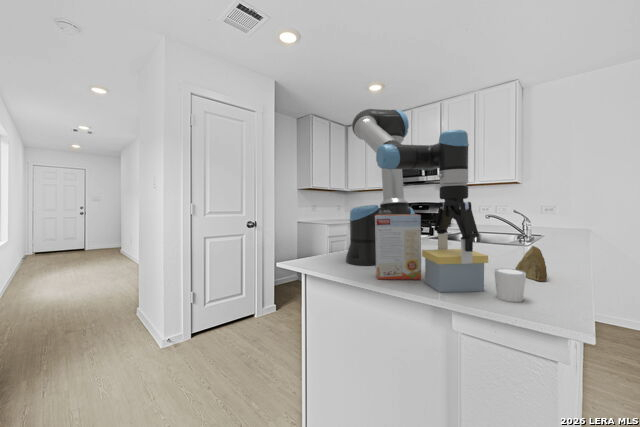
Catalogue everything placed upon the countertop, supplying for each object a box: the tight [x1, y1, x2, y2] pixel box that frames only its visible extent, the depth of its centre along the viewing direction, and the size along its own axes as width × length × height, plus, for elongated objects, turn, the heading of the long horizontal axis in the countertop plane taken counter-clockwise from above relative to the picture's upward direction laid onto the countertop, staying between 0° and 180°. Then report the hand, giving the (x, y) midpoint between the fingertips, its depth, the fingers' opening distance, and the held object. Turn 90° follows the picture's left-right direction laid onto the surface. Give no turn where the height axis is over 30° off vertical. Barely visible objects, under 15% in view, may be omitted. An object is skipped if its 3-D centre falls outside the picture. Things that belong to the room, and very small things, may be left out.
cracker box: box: [375, 213, 422, 281], centre depth 94 cm, size 14×6×21 cm, turn 84°
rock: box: [514, 245, 548, 282], centre depth 92 cm, size 11×9×10 cm
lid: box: [421, 248, 489, 264], centre depth 84 cm, size 11×14×3 cm
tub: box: [424, 257, 485, 293], centre depth 84 cm, size 10×13×8 cm
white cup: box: [493, 268, 527, 303], centre depth 74 cm, size 7×7×7 cm
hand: (453, 258), depth 83 cm, fingers open, 13 cm apart
